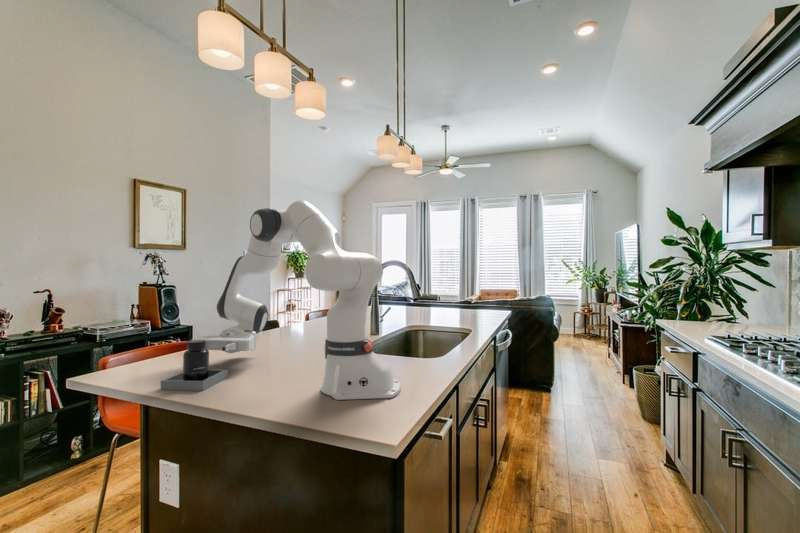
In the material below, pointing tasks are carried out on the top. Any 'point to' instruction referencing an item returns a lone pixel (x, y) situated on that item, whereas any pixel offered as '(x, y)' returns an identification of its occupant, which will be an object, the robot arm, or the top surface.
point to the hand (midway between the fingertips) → (210, 348)
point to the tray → (178, 383)
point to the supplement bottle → (196, 361)
